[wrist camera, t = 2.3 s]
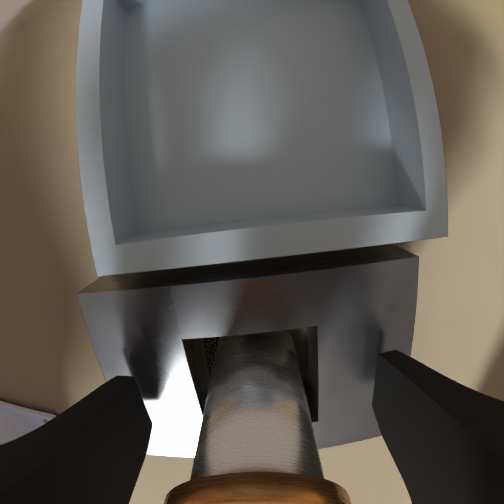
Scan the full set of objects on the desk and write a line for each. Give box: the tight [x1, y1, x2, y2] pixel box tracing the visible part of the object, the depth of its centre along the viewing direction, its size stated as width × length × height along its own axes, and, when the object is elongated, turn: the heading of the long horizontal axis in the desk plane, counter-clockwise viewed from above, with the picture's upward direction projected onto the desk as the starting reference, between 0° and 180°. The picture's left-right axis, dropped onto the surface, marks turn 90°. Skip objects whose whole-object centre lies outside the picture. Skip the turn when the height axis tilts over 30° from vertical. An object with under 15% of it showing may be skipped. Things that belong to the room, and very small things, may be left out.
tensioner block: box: [77, 244, 419, 457], centre depth 10 cm, size 10×7×2 cm
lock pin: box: [164, 330, 351, 504], centre depth 7 cm, size 4×4×8 cm
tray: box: [76, 0, 448, 276], centre depth 8 cm, size 10×10×2 cm
